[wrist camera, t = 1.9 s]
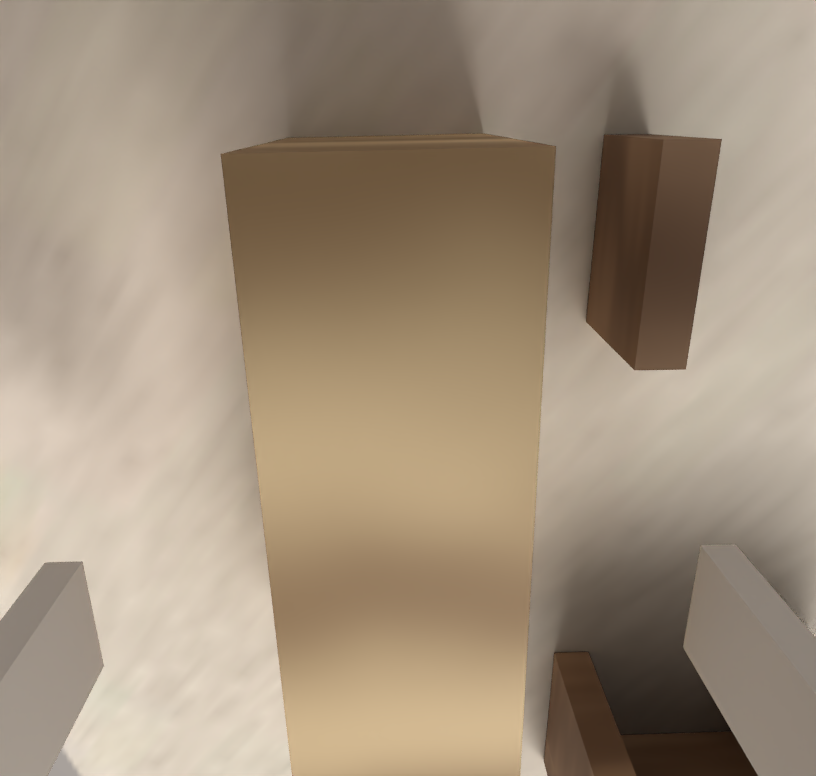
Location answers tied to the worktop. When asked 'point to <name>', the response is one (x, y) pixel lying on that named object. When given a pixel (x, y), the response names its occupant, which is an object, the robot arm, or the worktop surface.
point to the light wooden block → (396, 436)
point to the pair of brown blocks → (650, 245)
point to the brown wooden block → (623, 754)
